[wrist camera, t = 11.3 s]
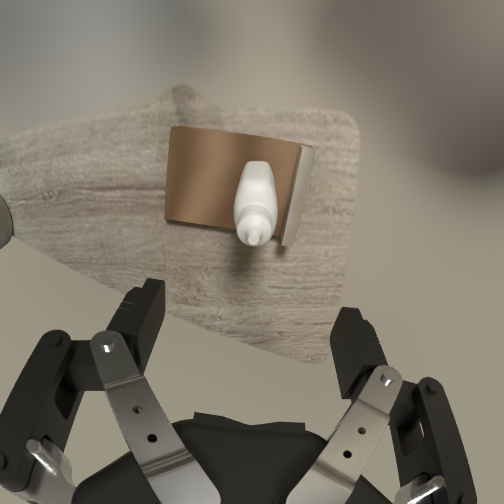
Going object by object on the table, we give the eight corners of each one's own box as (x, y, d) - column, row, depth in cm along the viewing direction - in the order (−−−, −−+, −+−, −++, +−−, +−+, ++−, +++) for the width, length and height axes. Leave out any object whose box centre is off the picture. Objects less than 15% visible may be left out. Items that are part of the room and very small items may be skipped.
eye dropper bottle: (225, 200, 31) (204, 258, 20) (251, 152, 28) (244, 186, 18) (262, 219, 32) (261, 285, 21) (290, 174, 29) (306, 220, 19)
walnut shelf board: (167, 215, 33) (158, 226, 30) (173, 125, 28) (164, 128, 25) (292, 234, 33) (294, 247, 31) (312, 146, 29) (316, 150, 26)
